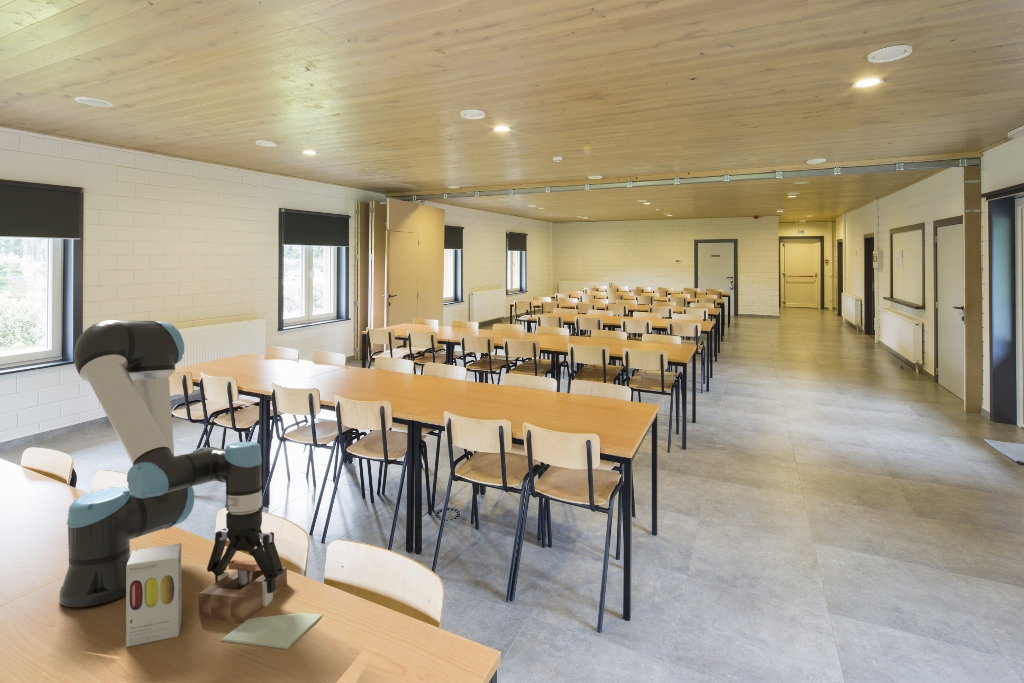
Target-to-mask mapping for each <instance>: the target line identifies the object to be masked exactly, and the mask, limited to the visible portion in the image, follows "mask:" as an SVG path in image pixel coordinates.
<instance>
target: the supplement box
mask: <svg viewBox="0 0 1024 683" xmlns="http://www.w3.org/2000/svg"><path fill="white" fill-rule="evenodd" d="M130 555H131V556H130V558H129V560H128V563H127V565H126V595H125V604H126V605H125V625H126V626H125V648H128V647H133V646H138V645H142V644H148V643H152V642H157V641H162V640H168V639H171V638H176V637H179V636H180V635H179V634H180V629H181V622H182V615H183V614H182V612H183V611H182V610H183V609H182V580H183V578H182V576H183V575H182V543H181V542H180V543H174V544H168V545H161V546H153V547H148V548H141V549H140V548H139V549H138V548H137V549H133V550H132V551H131V552H130Z"/></svg>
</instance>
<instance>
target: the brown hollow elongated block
mask: <svg viewBox="0 0 1024 683" xmlns="http://www.w3.org/2000/svg"><path fill="white" fill-rule="evenodd" d="M282 568H283V573H282V574H281V575H279V576H278V577H276V578H275V591H273V597H274V596H275V595H277V594H278V593H279V592H280V591H281V590H282V589H283V588H285V587H286V586H287V585H288V567H287V566H282ZM269 573H270V572H269ZM263 579H265V577H264V575H263V573H262V571H261V570H260V569H259V570H257V571H256V572H255V571H252V582H251V583H250V584H248V585H247V586H245V587H244V588H242V589H240V590H238V570H234V571H232V572H230V573H229V575H228V576H226V577H224V578H223V579H221V580H219V581H218V582H216V583H215V582H214V583H213V584H211V585H210V586H208V587H206V588H205V589H202V591H200V592H198V617H199V618H206V619H212V620H218V621H223V622H230V623H236V624H240V625H241V624H242V623H244V622H245V621H246V620H248V619H250V618H252V616H253V615H255V614H256V613H257V612H258V611H259V610H260V609H261V608H262V607H264V606H263V596H262V580H263Z"/></svg>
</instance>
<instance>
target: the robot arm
mask: <svg viewBox="0 0 1024 683" xmlns="http://www.w3.org/2000/svg"><path fill="white" fill-rule="evenodd" d="M184 355H185V342H184V338H183V337H182V334H181V333H180V331H179V330H178V328H176V327H175V326H174V324H171V323H170V322H168V321H167V322H166V321H157V320H115V319H108V320H103V321H99V322H96V323H94V324H92V325H90V326H89V327H87V328H86V329H85V330H84V331H83V332H82V333H81V334H80V336H79V337H78V338H77V340H76V343H75V346H74V350H73V361H74V367H75V369H76V372H77V373H78V375H79V377H80V379H81V380H83V381H84V382H88V383H89V385H90V386H91V388H92V391H93V392H94V394H95V395H96V398H97V400H98V402H99V403H100V405H101V407H102V409H103V411H104V413H105V414H106V416H107V418H108V420H109V422H110V424H111V426H112V428H113V430H114V432H115V434H116V436H117V438H118V440H119V441H120V444H121V446H122V447H123V449H124V451H125V453H126V455H127V457H128V458H129V461H130V463H131V464H132V466H130V468H129V470H128V471H127V475H126V483H127V484H128V485H127V487H128V488H127V487H123V486H114V487H113V486H112V487H109V488H106V489H105V488H103V489H97V490H95V491H91V492H89V493H85V494H84V495H81V496H79V497H78V498H76V499H75V500H73V502H72V503H70V505H69V507H68V513H67V521H66V524H67V530H68V531H67V536H68V537H67V538H68V568H67V571H66V574H65V576H64V580H63V582H62V586H61V588H60V590H59V603H60V604H61V605H62V606H64V607H70V608H83V607H90V606H91V607H92V606H97V605H100V604H105V603H108V602H112V601H116V600H118V599H121V598H123V597H126V565H127V563H128V560H129V558H130V556H131V542H130V541H131V540H133V539H135V538H139V537H143V536H145V535H149V534H152V533H155V532H157V531H162V530H167V529H170V528H172V527H173V526H174V527H175V526H176V525H178V524H181V523H183V522H184V521H186V520H187V519H188V517H189V516H190V515H191V513H192V512H193V508H194V506H195V500H196V498H195V489H194V487H195V486H198V485H203V484H206V483H210V482H219V483H225V500H226V502H225V505H226V506H225V509H226V511H227V513H225V514H226V515H225V517H226V519H225V526H226V527H225V528H222V529H220V530H219V531H216V532H215V534H214V538H215V539H214V540H215V541H214V545H213V548H212V552H211V554H210V558H209V560H208V564H207V568H206V570H207V572H208V573H213V574H214V577H215V578H214V579H215V582H214V583H216V582H218V581H219V580H221V579H223V578H224V577H226V576H228V575H229V574H230V573H229V571H227V570H228V568H227V567H229V562H231V561H232V560H233V558H234V556H235V555H236V553H237V552H239V551H243V552H247V553H249V555H250V556H252V557H253V559H254V561H256V563H257V564H258V566H259V568H260V570H261V571H262V573H263V575H264V577H265V579H263V580H262V596H263V606H262V607H267V606H268V605H269V604H270V603H271V602H272V601H273V599H274V596H273V591H275V578H276V577H278V576H279V575H281V574H282V573H283V568H282V567H283V565H282V563H281V558H280V556H279V553H278V550H277V546H276V543H275V533H274V532H273V531H270V532H267V533H264V532H263V531H262V529H261V527H262V524H263V509H262V508H261V507H262V506H263V490H262V488H263V487H262V486H263V484H262V481H263V480H262V478H263V477H262V471H263V470H262V465H263V464H262V463H263V459H262V449H261V444H259V442H256V441H240V442H238V441H237V442H233V443H229V444H227V446H225V448H219V447H214V446H208V447H206V446H205V447H204V446H202V447H199V448H196V449H195V450H194V451H192V452H190V453H185V454H179V455H175V446H174V444H175V442H174V431H173V429H174V428H173V416H172V402H171V387H170V376H172V375H173V374H174V373H175V372H176V365H177V364H178V363H180V362H181V361H182V360H183V356H184ZM227 540H228V541H229V543H228V545H227V547H226V543H227ZM225 547H226V548H225ZM269 572H270V573H269Z"/></svg>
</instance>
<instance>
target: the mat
mask: <svg viewBox="0 0 1024 683" xmlns="http://www.w3.org/2000/svg"><path fill="white" fill-rule="evenodd" d="M321 617H323V614H319V613H317V614H316V613H309V612H298V613H297V612H296V613H289V614H287V613H286V614H279V615H278V614H277V615H267V616H262V617H261V616H260V617H254V618H253V617H250V618H249V619H248V620H246V621H245V622H244V623H242V624H241V623H240V625H238V626H237V627H236V628H234V629H233V630H231V631H230V632H229V633H228V634H226V635H224V637H222V638H221V642H225V643H226V642H227V643H235V644H244V645H251V646H259V647H268V648H277V649H285V650H288V649H289V648H290V647H291V646H292V645H293V644H294V643H295V642H296V641H297V640H299V639H300V638H301V637H302V636H303V635H304V634H305V633H306V632H307V631H308V630H310V629H311V627H312V626H313V625H315V624H316V623H317V622H318V621H319V620H320V619H321Z"/></svg>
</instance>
